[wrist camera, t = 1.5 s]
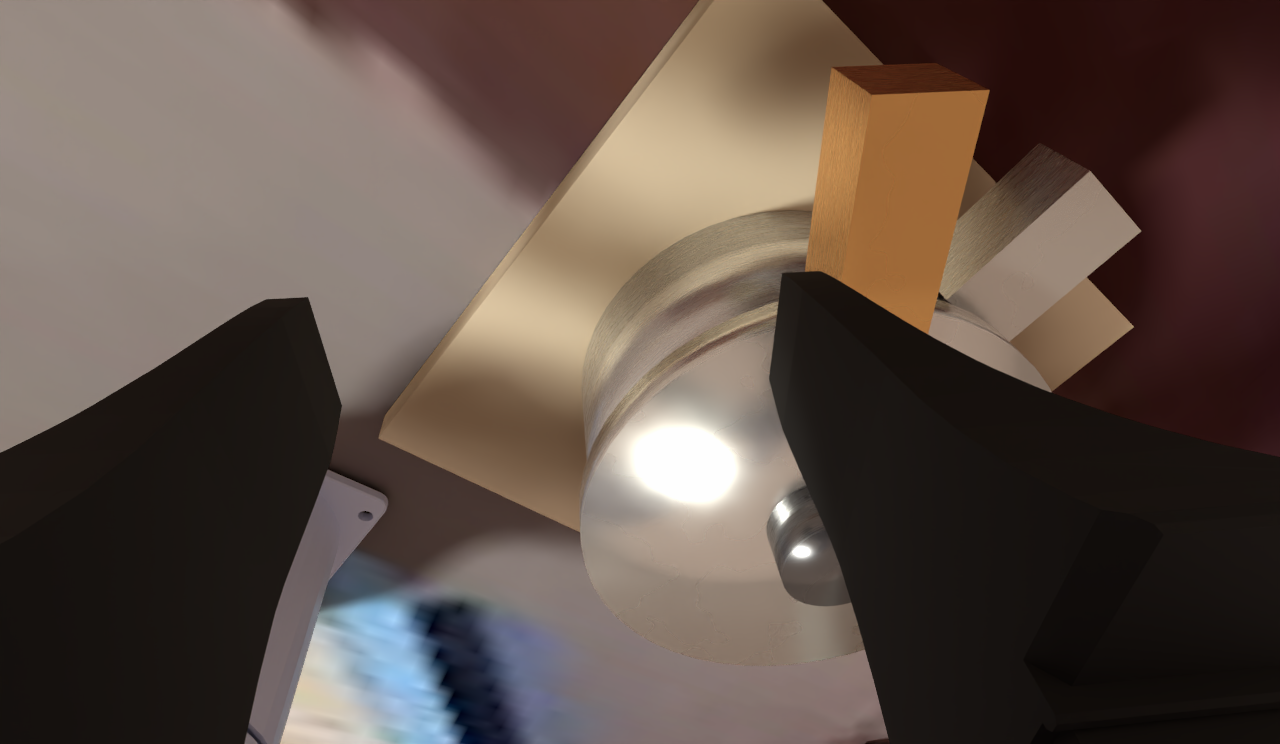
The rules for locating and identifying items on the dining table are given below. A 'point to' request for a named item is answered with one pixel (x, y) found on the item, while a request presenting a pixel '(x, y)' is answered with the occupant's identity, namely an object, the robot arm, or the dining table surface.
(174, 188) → the dining table surface
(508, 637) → the dining table surface
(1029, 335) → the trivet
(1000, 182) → the pot
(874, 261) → the lid with handle
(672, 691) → the dining table surface
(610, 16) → the dining table surface
